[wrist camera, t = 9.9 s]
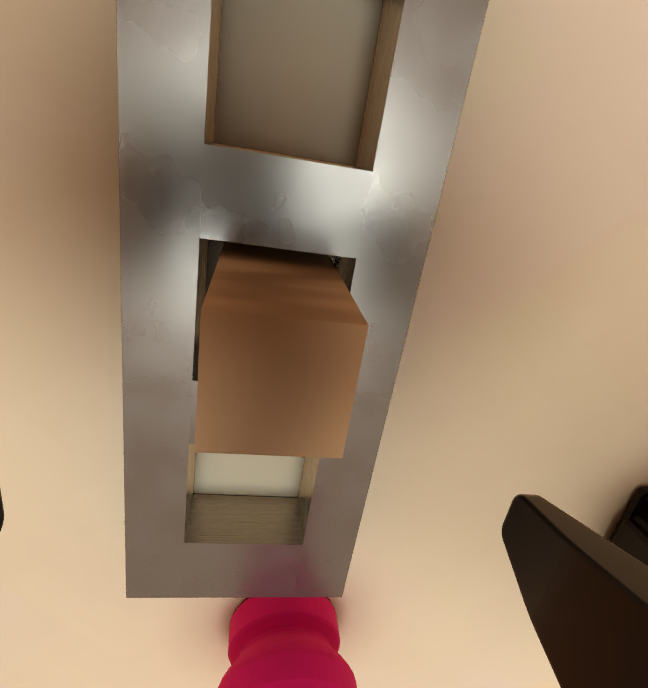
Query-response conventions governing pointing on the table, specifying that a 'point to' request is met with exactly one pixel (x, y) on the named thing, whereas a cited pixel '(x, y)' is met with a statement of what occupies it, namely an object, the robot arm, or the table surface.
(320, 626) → the pepper mill
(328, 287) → the walnut peg
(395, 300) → the grey peg hole board
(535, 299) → the table surface
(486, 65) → the table surface
